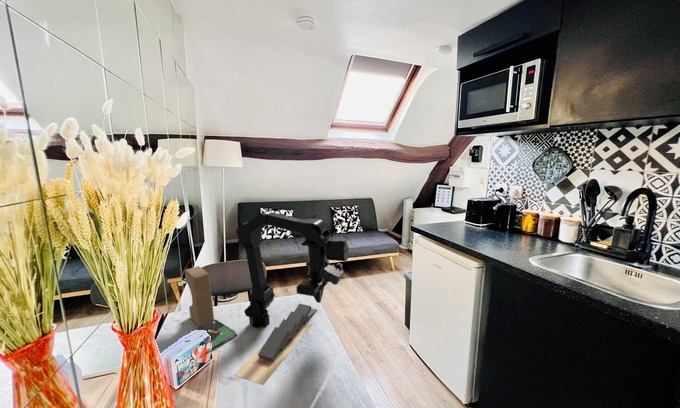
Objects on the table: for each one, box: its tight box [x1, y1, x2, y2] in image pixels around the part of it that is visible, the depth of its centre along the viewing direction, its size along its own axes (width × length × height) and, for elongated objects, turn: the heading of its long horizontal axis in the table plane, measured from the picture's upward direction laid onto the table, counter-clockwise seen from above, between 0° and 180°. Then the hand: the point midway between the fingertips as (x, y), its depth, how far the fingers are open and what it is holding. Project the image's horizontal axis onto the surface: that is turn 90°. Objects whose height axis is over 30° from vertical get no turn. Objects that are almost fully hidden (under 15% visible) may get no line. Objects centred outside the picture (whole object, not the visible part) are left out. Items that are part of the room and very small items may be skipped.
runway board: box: [234, 322, 313, 386], centre depth 90 cm, size 10×29×1 cm, turn 158°
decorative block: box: [184, 265, 215, 329], centre depth 107 cm, size 11×6×20 cm, turn 43°
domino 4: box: [277, 318, 297, 351], centre depth 93 cm, size 2×5×10 cm
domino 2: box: [293, 303, 312, 331], centre depth 102 cm, size 2×5×10 cm
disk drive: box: [188, 318, 239, 351], centre depth 97 cm, size 10×3×15 cm
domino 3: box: [285, 311, 304, 341], centre depth 97 cm, size 2×5×10 cm
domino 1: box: [258, 326, 289, 361], centre depth 88 cm, size 2×5×10 cm
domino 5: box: [303, 307, 318, 324], centre depth 107 cm, size 2×5×10 cm
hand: (318, 302), depth 94 cm, fingers closed
